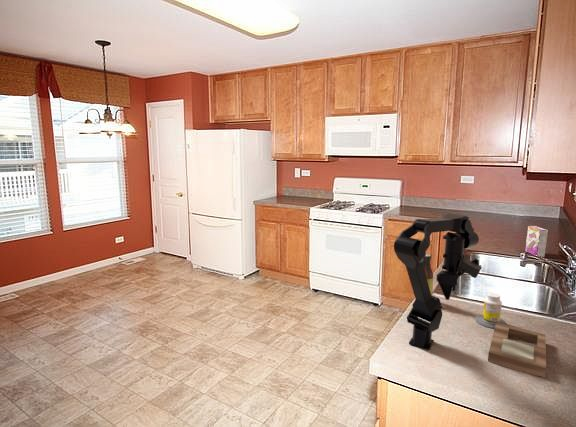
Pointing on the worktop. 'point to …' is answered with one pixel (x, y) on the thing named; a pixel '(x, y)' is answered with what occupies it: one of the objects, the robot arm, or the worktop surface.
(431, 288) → the sauce bottle
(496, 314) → the supplement bottle
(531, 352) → the puzzle board
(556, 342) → the worktop surface
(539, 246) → the candy bar box
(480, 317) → the rubber mat
